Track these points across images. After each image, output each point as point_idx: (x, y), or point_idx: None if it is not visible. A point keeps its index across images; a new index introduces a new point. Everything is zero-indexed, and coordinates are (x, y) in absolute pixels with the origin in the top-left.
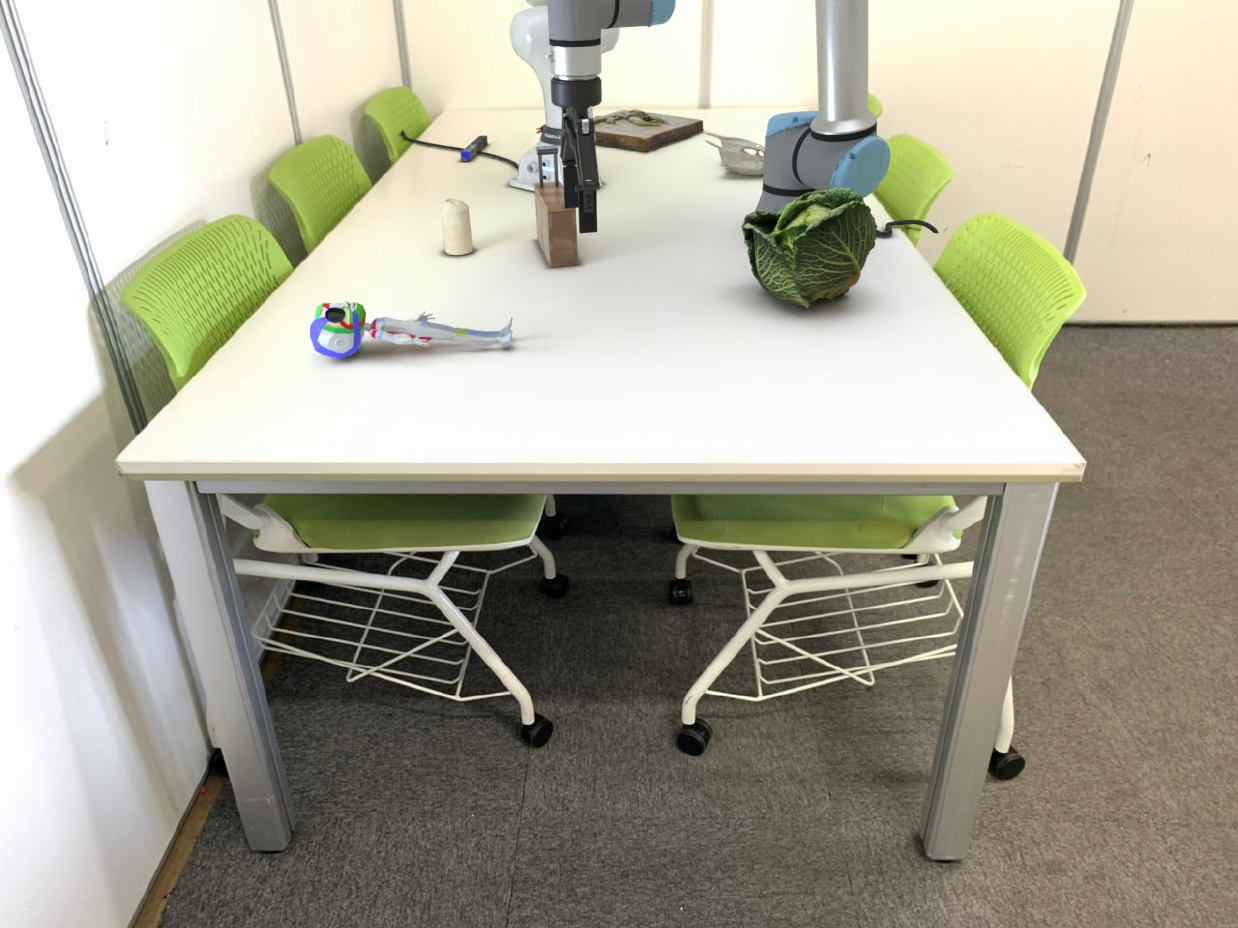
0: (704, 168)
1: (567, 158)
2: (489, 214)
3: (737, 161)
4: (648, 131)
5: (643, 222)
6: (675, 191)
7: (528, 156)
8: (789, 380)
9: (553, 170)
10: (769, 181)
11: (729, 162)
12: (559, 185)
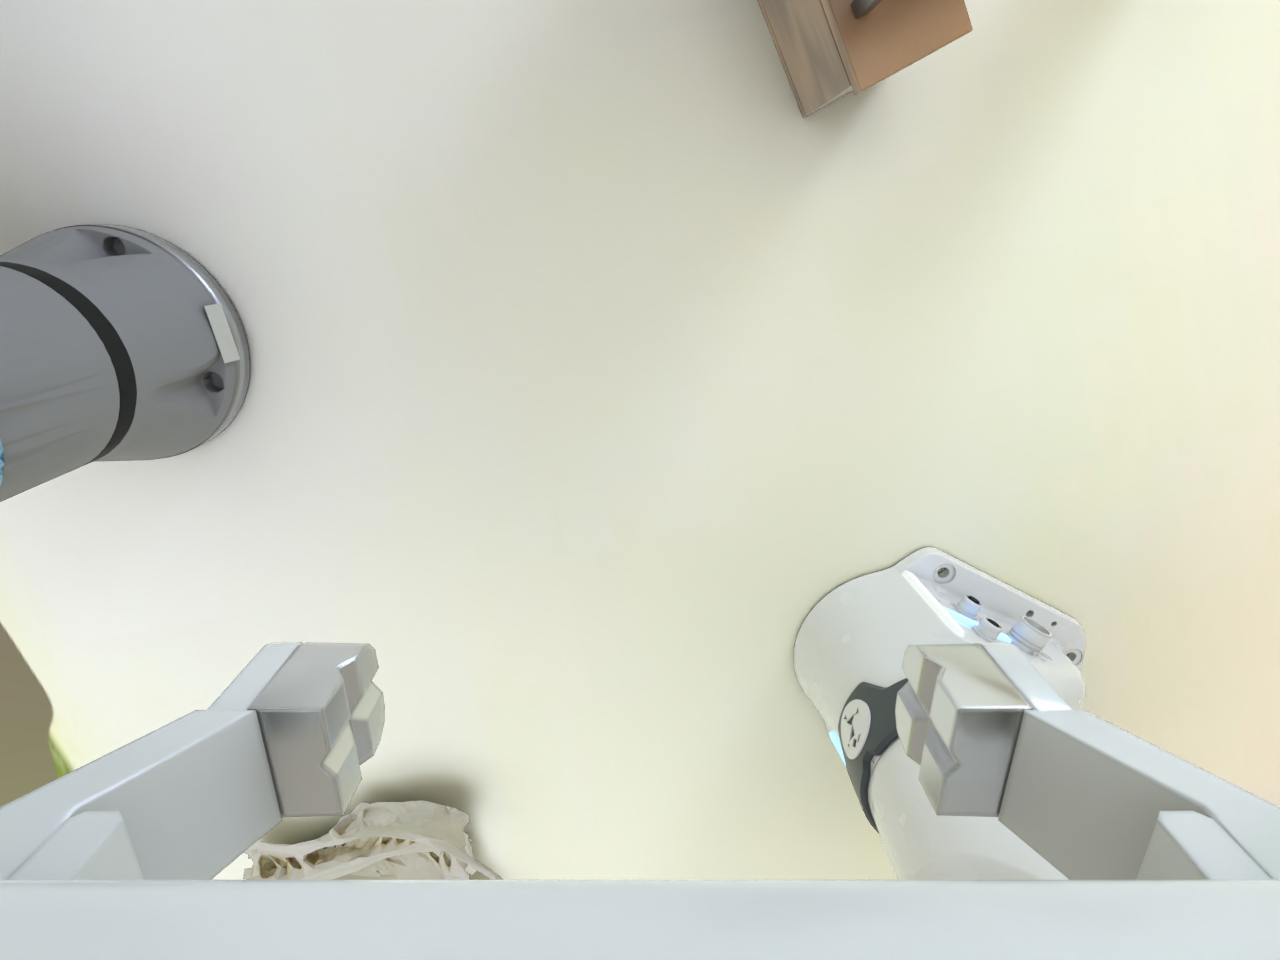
0: (542, 860)
1: None
2: (1099, 330)
3: (412, 818)
4: None
5: (585, 347)
6: (568, 655)
7: (1062, 677)
8: None
9: (952, 612)
10: (51, 300)
11: (436, 814)
12: (849, 12)
